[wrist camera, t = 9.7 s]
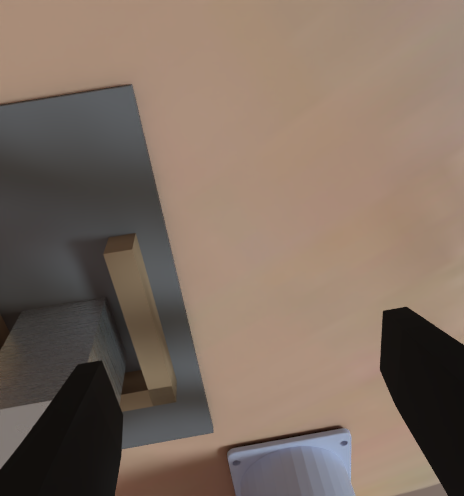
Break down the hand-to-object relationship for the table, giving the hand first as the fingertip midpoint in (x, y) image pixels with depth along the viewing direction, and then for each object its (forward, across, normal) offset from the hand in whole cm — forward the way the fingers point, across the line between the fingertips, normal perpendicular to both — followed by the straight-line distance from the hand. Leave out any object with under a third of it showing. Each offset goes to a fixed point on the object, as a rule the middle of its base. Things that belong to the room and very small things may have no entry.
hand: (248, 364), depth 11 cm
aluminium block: (+9, +8, +5) cm, 13 cm away
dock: (+9, +8, +4) cm, 13 cm away
